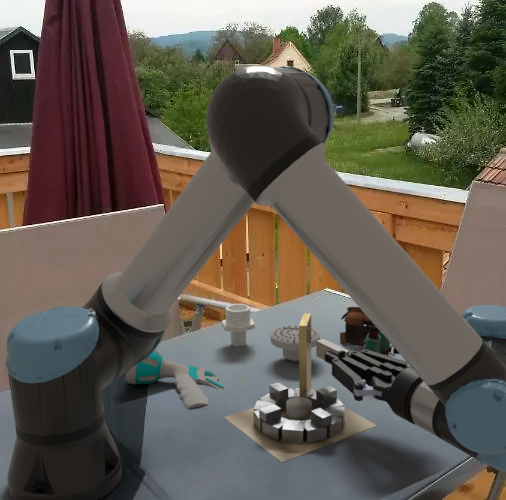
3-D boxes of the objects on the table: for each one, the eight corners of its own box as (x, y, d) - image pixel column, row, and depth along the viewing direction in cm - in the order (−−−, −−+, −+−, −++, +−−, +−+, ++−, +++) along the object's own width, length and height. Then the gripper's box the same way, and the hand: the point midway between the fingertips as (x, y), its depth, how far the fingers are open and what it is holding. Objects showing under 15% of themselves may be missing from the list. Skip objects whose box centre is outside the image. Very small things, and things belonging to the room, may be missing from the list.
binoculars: (411, 340, 114) (357, 325, 119) (403, 395, 117) (351, 378, 122) (427, 324, 121) (375, 310, 126) (419, 376, 124) (369, 361, 129)
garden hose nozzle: (244, 386, 112) (211, 334, 130) (141, 394, 106) (121, 339, 123) (239, 422, 114) (207, 367, 132) (138, 433, 108) (119, 373, 126)
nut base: (282, 469, 93) (281, 441, 92) (224, 424, 106) (223, 398, 105) (376, 432, 103) (377, 406, 102) (313, 394, 116) (313, 371, 115)
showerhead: (268, 339, 122) (272, 320, 132) (269, 375, 124) (272, 354, 134) (319, 340, 121) (319, 321, 131) (319, 376, 123) (319, 355, 133)
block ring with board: (340, 446, 96) (341, 356, 93) (246, 438, 99) (243, 350, 96) (348, 393, 113) (349, 315, 109) (267, 387, 116) (266, 311, 112)
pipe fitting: (216, 344, 140) (214, 308, 138) (241, 335, 144) (240, 300, 143) (235, 352, 135) (234, 315, 133) (261, 343, 140) (260, 307, 138)
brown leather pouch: (327, 341, 141) (335, 304, 143) (359, 352, 146) (366, 316, 148) (365, 344, 131) (373, 304, 133) (399, 355, 136) (406, 316, 138)
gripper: (391, 439, 88) (288, 377, 108) (458, 412, 95) (349, 359, 115) (393, 387, 87) (287, 334, 106) (460, 363, 93) (350, 318, 113)
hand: (320, 347), depth 110 cm, fingers closed
